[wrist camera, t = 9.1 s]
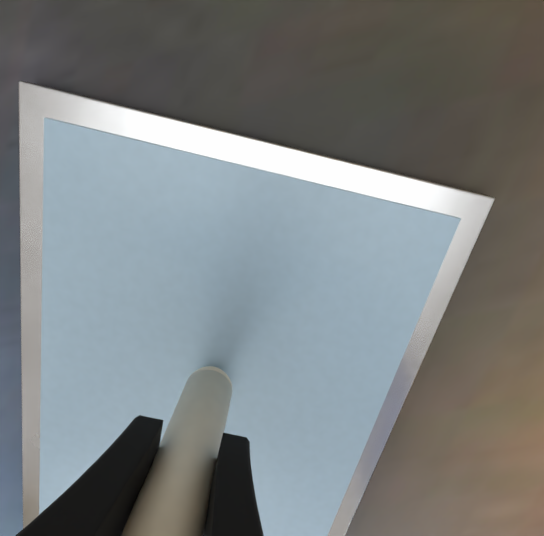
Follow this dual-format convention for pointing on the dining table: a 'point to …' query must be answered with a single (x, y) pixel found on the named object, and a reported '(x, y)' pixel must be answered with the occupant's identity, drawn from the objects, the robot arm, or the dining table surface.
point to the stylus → (184, 461)
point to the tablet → (223, 296)
